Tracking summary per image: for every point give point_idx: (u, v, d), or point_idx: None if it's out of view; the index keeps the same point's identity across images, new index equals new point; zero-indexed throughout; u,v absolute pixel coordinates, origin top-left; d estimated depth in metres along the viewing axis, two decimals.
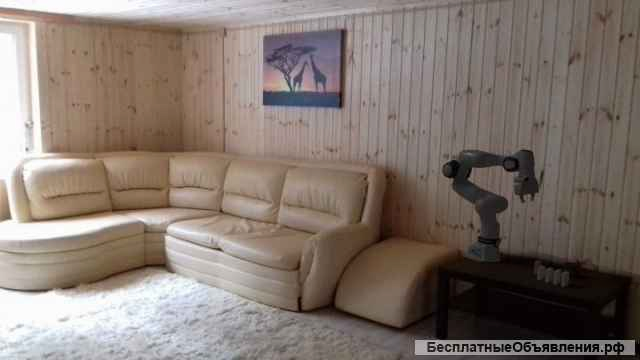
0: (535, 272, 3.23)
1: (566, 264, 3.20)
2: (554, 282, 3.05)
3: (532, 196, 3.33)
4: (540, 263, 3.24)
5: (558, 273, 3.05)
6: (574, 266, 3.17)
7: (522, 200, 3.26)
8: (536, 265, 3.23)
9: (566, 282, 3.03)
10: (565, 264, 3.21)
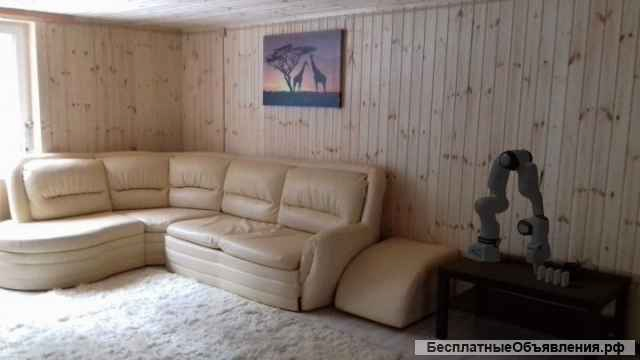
0: (535, 272, 3.23)
1: (566, 264, 3.20)
2: (554, 282, 3.05)
3: None
4: (540, 263, 3.24)
5: (558, 273, 3.05)
6: (574, 266, 3.17)
7: (535, 267, 3.22)
8: None
9: (566, 282, 3.03)
10: (565, 264, 3.21)
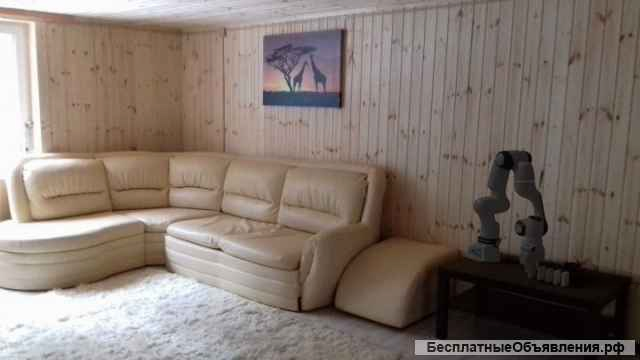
0: (529, 275, 3.16)
1: (566, 264, 3.20)
2: (554, 282, 3.05)
3: (537, 263, 3.20)
4: (534, 266, 3.17)
5: (558, 273, 3.05)
6: (574, 266, 3.17)
7: (527, 269, 3.14)
8: (530, 268, 3.16)
9: (566, 282, 3.03)
10: (565, 264, 3.21)
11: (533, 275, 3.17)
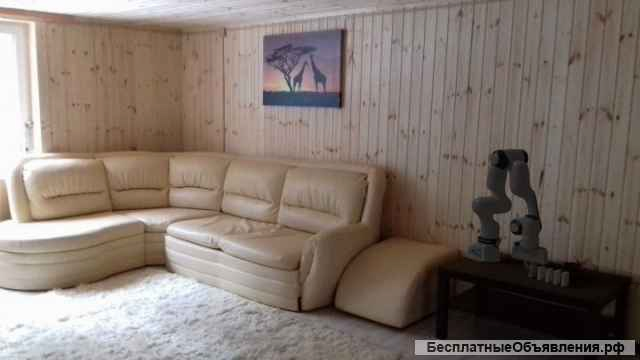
0: (529, 275, 3.16)
1: (566, 264, 3.20)
2: (554, 282, 3.05)
3: None
4: (536, 267, 3.16)
5: (558, 273, 3.05)
6: (574, 266, 3.17)
7: None
8: (531, 269, 3.15)
9: (566, 282, 3.03)
10: (565, 264, 3.21)
11: (533, 275, 3.17)
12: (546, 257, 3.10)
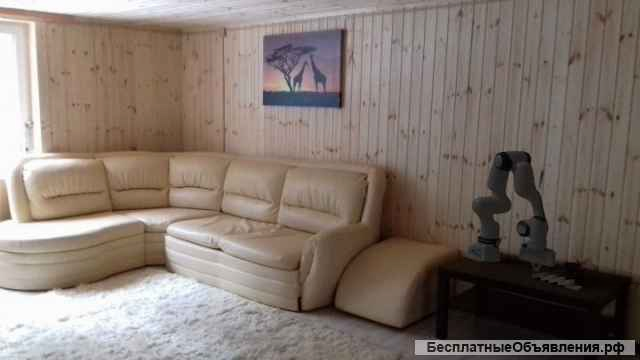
0: (533, 276, 3.15)
1: (566, 264, 3.20)
2: (559, 283, 3.03)
3: None
4: (544, 276, 3.13)
5: (569, 283, 3.00)
6: (574, 266, 3.17)
7: None
8: (540, 276, 3.11)
9: None
10: (565, 264, 3.21)
11: None
12: (554, 259, 3.07)
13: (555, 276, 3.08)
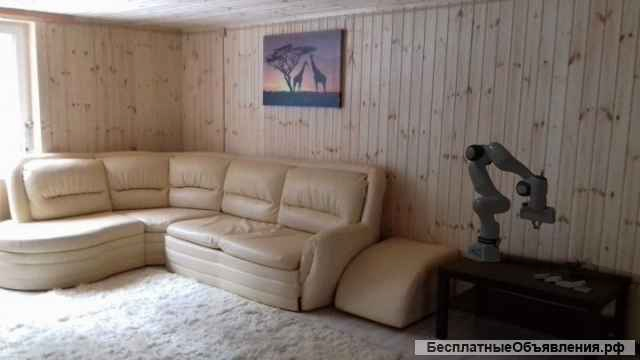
0: (535, 276, 3.14)
1: (566, 264, 3.20)
2: (570, 285, 2.98)
3: None
4: None
5: None
6: (574, 266, 3.17)
7: None
8: (542, 277, 3.11)
9: None
10: (565, 264, 3.21)
11: None
12: (554, 216, 3.14)
13: (559, 278, 3.06)
